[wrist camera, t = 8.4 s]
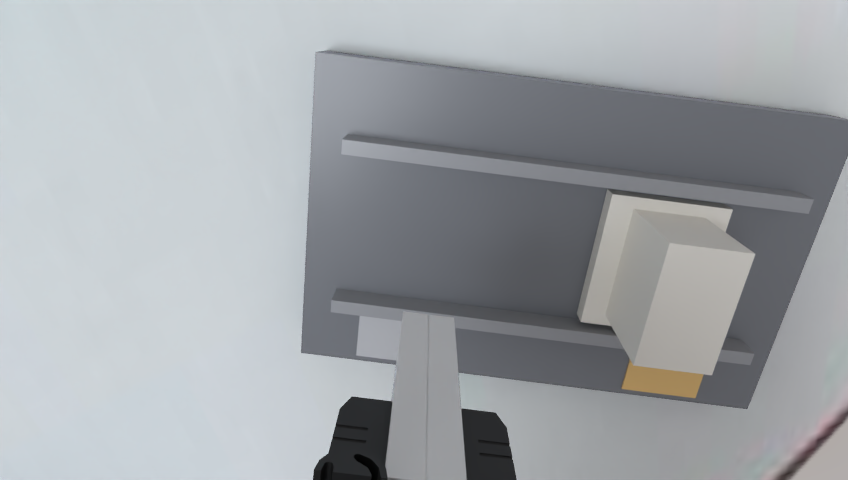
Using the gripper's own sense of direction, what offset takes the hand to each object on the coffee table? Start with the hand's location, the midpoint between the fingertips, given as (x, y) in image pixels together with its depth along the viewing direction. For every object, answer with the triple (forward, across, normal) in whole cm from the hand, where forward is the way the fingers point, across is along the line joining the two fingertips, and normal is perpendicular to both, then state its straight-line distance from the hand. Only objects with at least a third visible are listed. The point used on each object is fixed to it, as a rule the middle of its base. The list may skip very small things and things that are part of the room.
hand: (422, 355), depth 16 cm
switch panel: (+11, -6, -1) cm, 12 cm away
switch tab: (+9, -10, -1) cm, 13 cm away
